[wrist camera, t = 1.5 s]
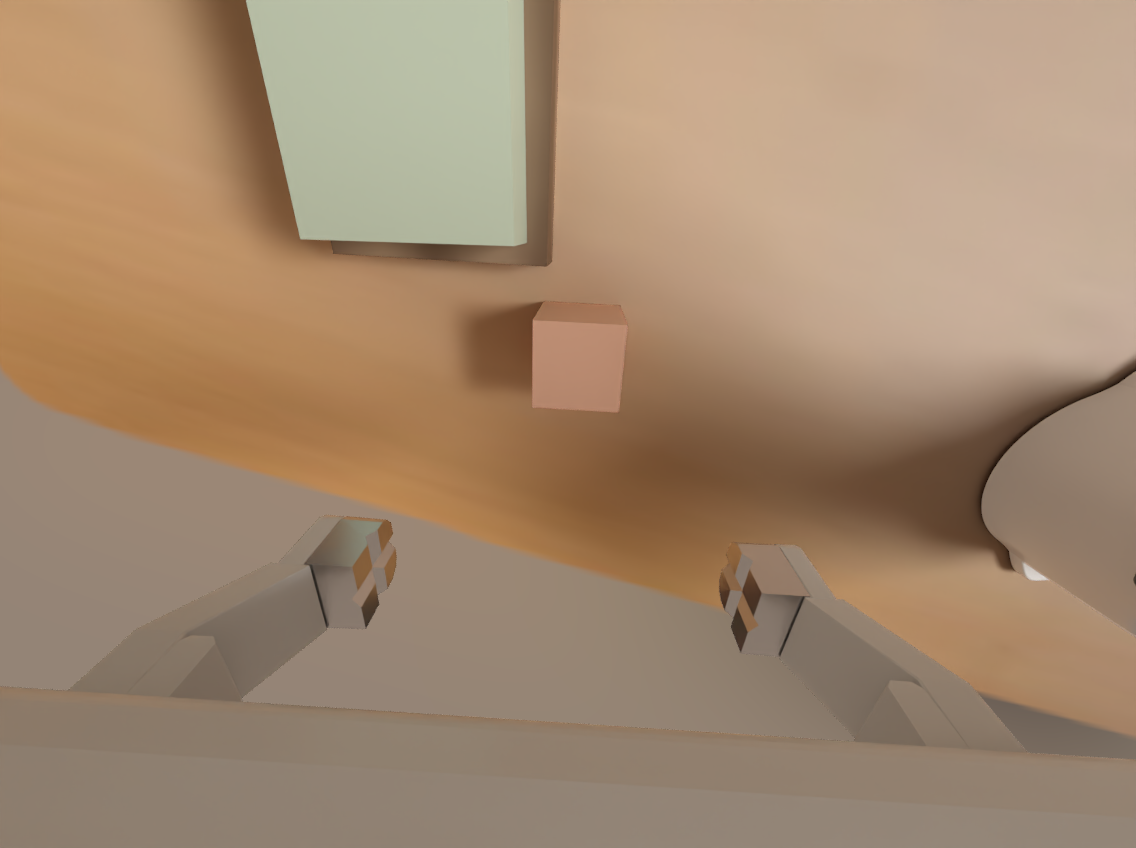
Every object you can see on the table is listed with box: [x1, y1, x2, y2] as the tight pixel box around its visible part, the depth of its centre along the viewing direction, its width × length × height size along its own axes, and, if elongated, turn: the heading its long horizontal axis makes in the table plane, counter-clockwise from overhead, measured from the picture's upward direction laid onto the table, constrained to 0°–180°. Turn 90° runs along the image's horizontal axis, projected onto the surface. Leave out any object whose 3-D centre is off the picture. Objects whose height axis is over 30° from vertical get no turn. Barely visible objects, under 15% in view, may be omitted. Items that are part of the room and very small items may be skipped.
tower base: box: [331, 0, 561, 266], centre depth 22 cm, size 12×16×4 cm
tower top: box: [246, 0, 527, 246], centre depth 18 cm, size 10×14×4 cm
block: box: [532, 301, 628, 413], centre depth 26 cm, size 5×5×6 cm
